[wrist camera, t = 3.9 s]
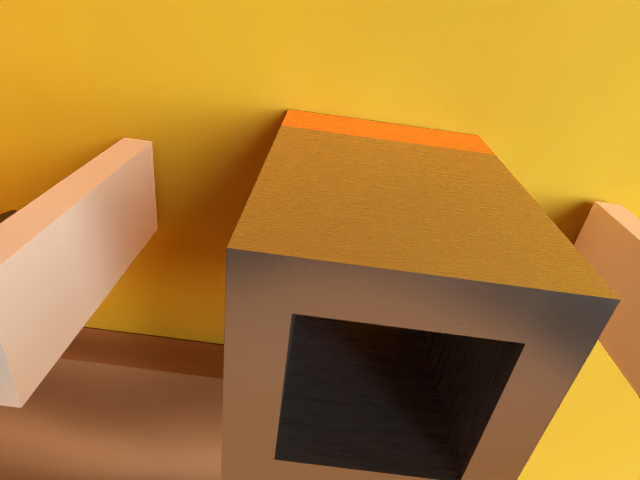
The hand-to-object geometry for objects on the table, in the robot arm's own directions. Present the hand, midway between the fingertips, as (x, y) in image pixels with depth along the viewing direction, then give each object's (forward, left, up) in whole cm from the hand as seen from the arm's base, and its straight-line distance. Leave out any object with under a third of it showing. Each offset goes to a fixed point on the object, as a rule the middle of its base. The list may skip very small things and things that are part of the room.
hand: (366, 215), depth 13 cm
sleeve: (0, 0, 0) cm, 0 cm away
